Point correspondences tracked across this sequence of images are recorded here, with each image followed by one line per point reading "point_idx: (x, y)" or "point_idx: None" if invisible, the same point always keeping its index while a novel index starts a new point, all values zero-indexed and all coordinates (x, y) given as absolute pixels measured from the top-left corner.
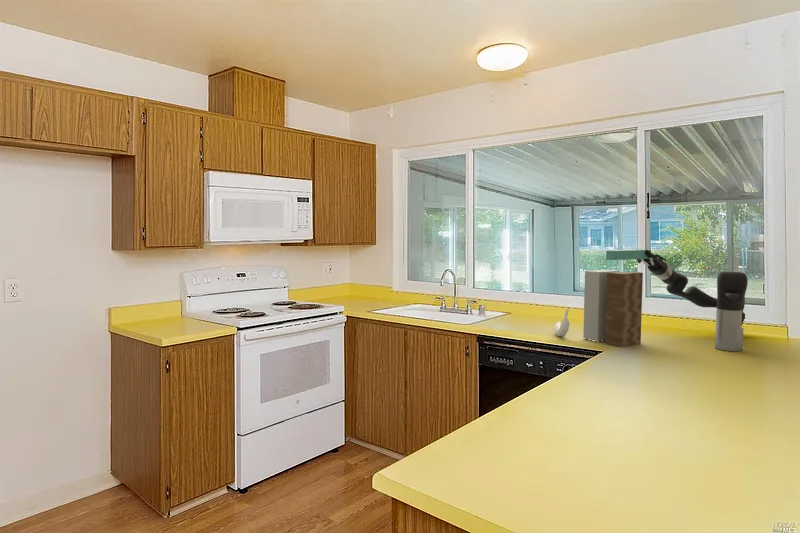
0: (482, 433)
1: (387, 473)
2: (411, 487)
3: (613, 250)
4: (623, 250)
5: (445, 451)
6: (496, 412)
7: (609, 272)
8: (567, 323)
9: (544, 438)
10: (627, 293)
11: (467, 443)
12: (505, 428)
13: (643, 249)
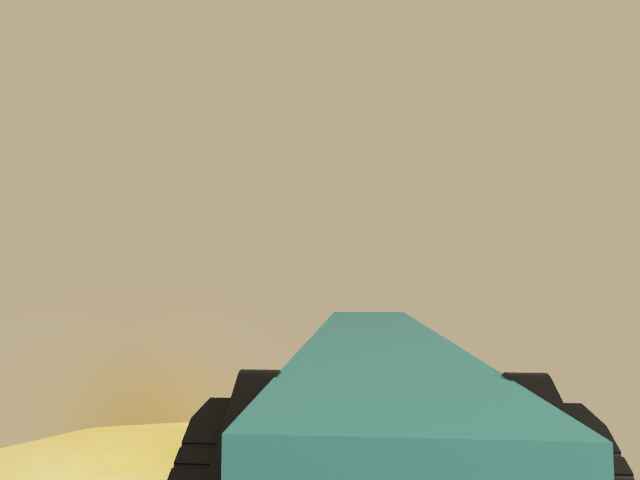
0: (175, 453)
1: (187, 423)
2: (162, 423)
3: (384, 315)
4: (340, 319)
5: (178, 437)
6: None
7: None
8: None
9: (118, 466)
10: None
11: (173, 445)
12: (163, 462)
13: (580, 435)
